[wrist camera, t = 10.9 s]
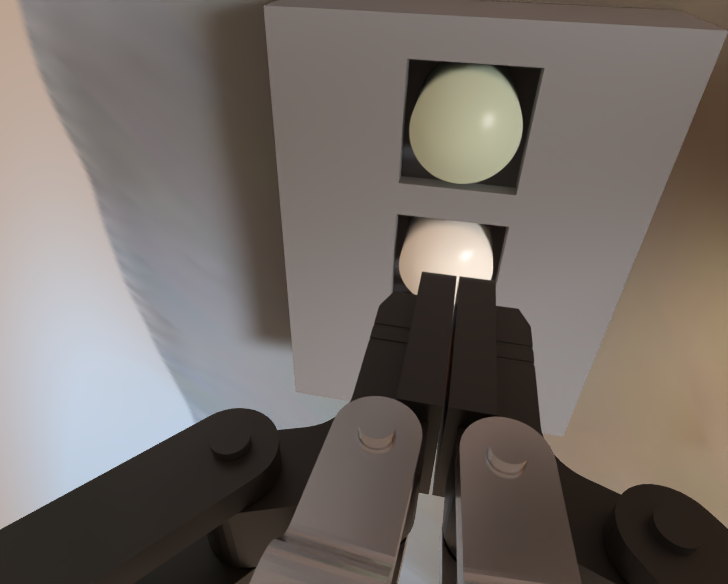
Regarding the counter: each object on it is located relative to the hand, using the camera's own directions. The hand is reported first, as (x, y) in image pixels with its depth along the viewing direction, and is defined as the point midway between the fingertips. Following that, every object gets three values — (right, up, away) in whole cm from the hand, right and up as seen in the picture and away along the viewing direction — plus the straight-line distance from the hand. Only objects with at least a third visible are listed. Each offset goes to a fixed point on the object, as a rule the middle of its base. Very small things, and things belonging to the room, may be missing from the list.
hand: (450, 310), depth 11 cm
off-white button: (+3, +4, +16) cm, 17 cm away
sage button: (+3, +9, +12) cm, 16 cm away
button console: (+3, +4, +17) cm, 18 cm away
